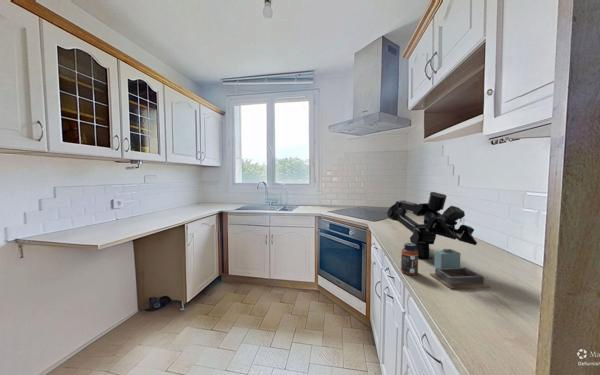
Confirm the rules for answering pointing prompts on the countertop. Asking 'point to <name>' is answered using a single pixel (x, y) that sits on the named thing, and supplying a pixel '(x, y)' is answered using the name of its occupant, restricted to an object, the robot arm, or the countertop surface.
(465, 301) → the countertop surface
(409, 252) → the supplement bottle
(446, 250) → the cabinet block
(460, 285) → the socket board
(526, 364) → the countertop surface
